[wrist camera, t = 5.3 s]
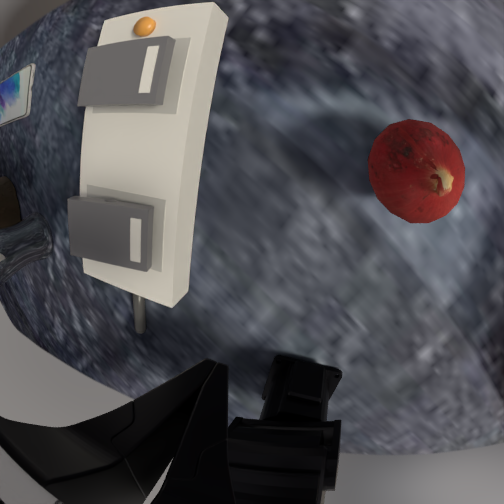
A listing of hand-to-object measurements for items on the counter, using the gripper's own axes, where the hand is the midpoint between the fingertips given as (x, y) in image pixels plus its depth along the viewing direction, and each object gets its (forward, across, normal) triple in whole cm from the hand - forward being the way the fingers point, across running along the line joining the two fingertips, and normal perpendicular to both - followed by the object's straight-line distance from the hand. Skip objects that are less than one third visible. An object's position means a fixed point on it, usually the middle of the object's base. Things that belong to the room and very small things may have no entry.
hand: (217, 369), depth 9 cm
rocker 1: (+8, +12, -11) cm, 18 cm away
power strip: (+13, +12, -2) cm, 18 cm away
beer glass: (+13, +29, +6) cm, 32 cm away
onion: (+13, -7, -8) cm, 17 cm away
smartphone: (+14, +40, -12) cm, 43 cm away
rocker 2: (+8, +12, 0) cm, 15 cm away
